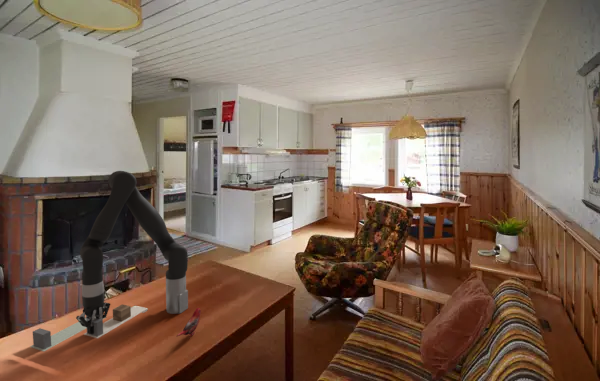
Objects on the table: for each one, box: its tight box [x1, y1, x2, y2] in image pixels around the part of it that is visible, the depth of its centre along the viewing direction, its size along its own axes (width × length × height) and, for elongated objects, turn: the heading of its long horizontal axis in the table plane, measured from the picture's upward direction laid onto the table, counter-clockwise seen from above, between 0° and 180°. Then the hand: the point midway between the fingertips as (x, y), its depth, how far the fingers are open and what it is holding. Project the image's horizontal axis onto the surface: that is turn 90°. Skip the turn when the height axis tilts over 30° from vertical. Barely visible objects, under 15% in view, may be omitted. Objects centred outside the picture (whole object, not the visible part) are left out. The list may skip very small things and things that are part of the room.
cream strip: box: [83, 305, 149, 339], centre depth 136 cm, size 8×26×7 cm, turn 162°
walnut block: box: [112, 304, 131, 322], centre depth 138 cm, size 5×5×5 cm
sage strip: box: [29, 317, 106, 352], centre depth 127 cm, size 8×26×7 cm, turn 162°
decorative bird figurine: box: [176, 307, 202, 338], centre depth 126 cm, size 3×18×10 cm, turn 167°
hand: (95, 331), depth 126 cm, fingers closed on cream strip, 2 cm apart
